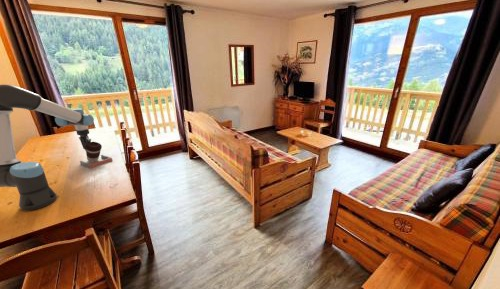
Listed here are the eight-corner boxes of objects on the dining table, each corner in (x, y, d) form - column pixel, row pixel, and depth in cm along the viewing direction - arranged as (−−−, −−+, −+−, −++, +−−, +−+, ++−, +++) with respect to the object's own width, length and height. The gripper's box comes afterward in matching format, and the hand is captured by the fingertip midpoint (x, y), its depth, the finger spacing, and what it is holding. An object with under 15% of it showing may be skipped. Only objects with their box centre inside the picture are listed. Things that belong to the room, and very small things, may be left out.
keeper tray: (90, 167, 153) (89, 164, 152) (80, 164, 159) (79, 161, 159) (112, 160, 165) (111, 157, 165) (102, 157, 172) (101, 154, 171)
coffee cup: (92, 165, 160) (93, 150, 153) (81, 158, 161) (81, 143, 153) (103, 159, 169) (105, 145, 161) (93, 152, 169) (94, 138, 162)
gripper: (92, 129, 159) (99, 157, 167) (83, 127, 165) (90, 154, 173) (80, 131, 153) (89, 161, 161) (72, 129, 158) (80, 157, 166)
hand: (90, 157), depth 167 cm, fingers closed
